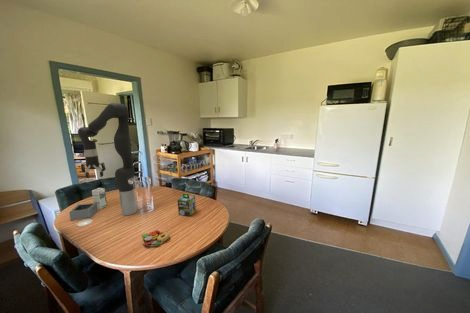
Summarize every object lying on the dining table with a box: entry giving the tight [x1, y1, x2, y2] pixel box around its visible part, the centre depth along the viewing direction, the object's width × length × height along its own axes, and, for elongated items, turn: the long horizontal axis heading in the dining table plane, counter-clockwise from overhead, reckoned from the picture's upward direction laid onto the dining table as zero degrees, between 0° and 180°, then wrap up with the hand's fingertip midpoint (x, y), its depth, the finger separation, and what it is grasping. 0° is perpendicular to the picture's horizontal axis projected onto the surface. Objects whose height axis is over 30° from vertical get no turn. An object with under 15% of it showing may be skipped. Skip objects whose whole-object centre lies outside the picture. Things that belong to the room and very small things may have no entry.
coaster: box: [76, 218, 94, 228], centre depth 123 cm, size 8×8×1 cm
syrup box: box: [91, 187, 108, 210], centre depth 144 cm, size 6×6×14 cm
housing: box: [68, 202, 99, 221], centre depth 133 cm, size 11×11×6 cm
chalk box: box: [177, 193, 197, 217], centre depth 135 cm, size 9×9×15 cm
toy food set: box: [141, 229, 171, 247], centre depth 106 cm, size 13×13×3 cm
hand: (95, 177), depth 140 cm, fingers open, 8 cm apart
